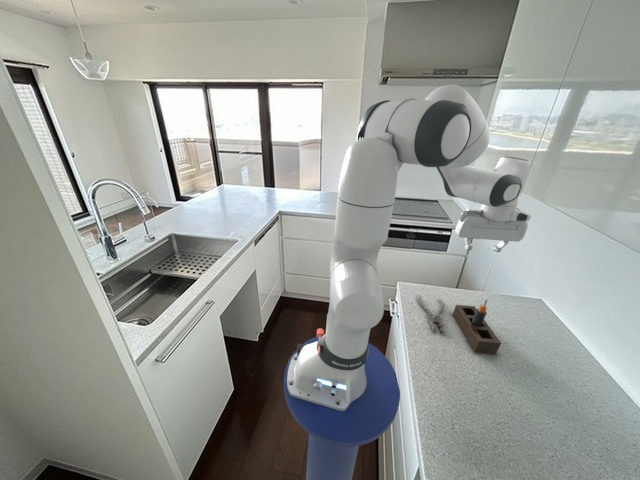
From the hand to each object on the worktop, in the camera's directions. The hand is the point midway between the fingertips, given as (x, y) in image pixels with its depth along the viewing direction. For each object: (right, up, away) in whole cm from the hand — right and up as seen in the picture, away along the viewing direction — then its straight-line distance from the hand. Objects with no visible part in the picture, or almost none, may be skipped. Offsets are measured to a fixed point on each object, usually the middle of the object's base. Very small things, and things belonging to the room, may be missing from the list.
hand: (482, 250), depth 86 cm
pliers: (-9, -25, +13) cm, 30 cm away
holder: (0, -30, +5) cm, 30 cm away
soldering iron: (0, -30, +5) cm, 30 cm away
